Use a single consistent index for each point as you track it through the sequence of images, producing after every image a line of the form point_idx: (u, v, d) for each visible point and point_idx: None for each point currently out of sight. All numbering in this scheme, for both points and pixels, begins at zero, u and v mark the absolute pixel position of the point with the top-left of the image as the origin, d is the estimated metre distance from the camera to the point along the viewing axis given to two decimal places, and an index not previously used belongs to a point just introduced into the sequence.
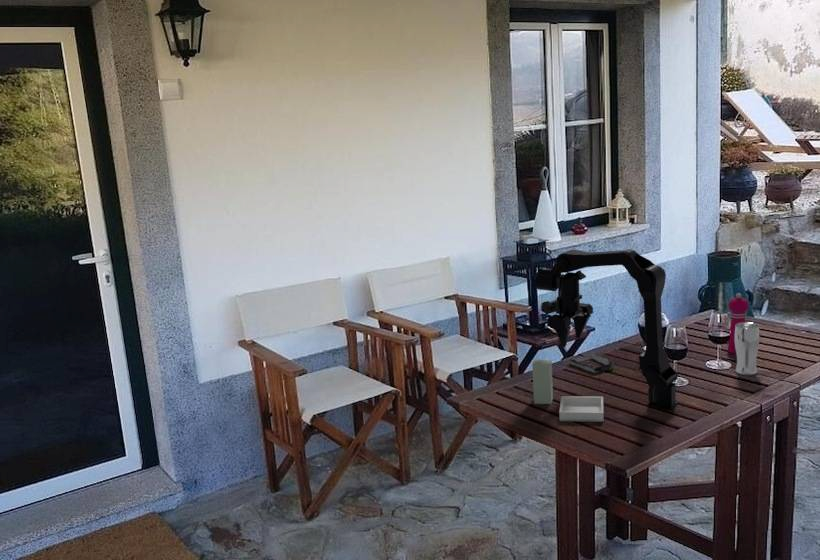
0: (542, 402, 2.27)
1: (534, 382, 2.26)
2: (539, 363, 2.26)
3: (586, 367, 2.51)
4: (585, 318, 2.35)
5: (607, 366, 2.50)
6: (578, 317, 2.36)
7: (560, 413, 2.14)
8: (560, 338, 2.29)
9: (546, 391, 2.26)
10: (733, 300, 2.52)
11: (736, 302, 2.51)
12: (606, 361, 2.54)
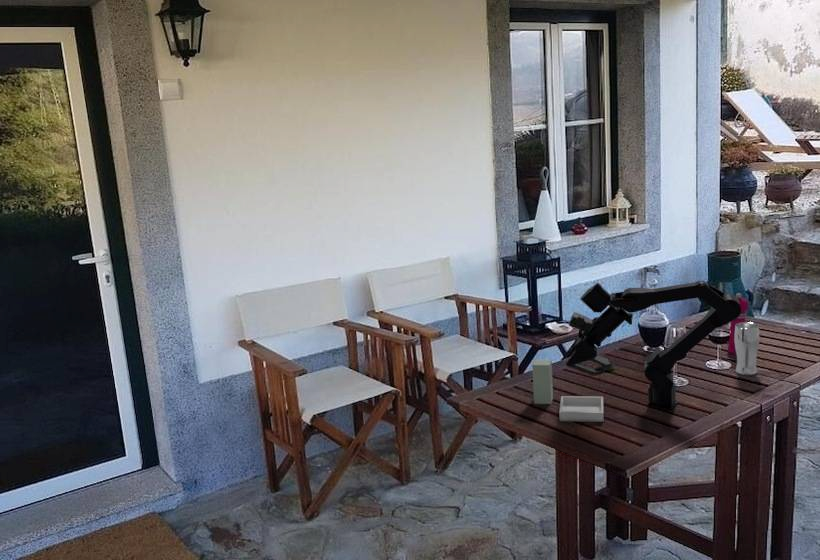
0: (542, 402, 2.27)
1: (534, 382, 2.26)
2: (539, 363, 2.26)
3: (587, 367, 2.51)
4: None
5: (608, 366, 2.50)
6: None
7: (560, 413, 2.14)
8: (572, 358, 2.18)
9: (546, 392, 2.26)
10: None
11: None
12: (606, 361, 2.54)
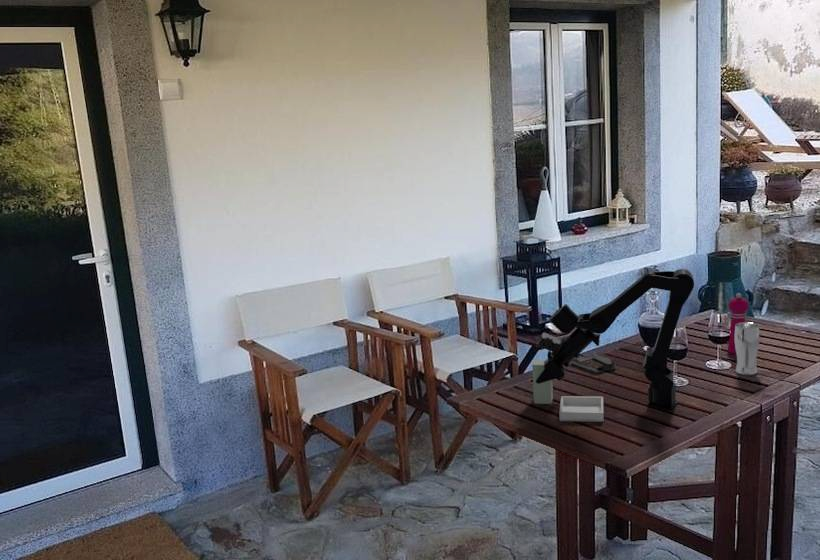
0: (542, 402, 2.27)
1: (534, 382, 2.26)
2: (539, 363, 2.26)
3: (588, 367, 2.51)
4: None
5: (610, 366, 2.50)
6: None
7: (560, 413, 2.14)
8: (541, 376, 2.24)
9: (546, 391, 2.26)
10: (733, 300, 2.52)
11: (736, 302, 2.51)
12: (608, 361, 2.54)
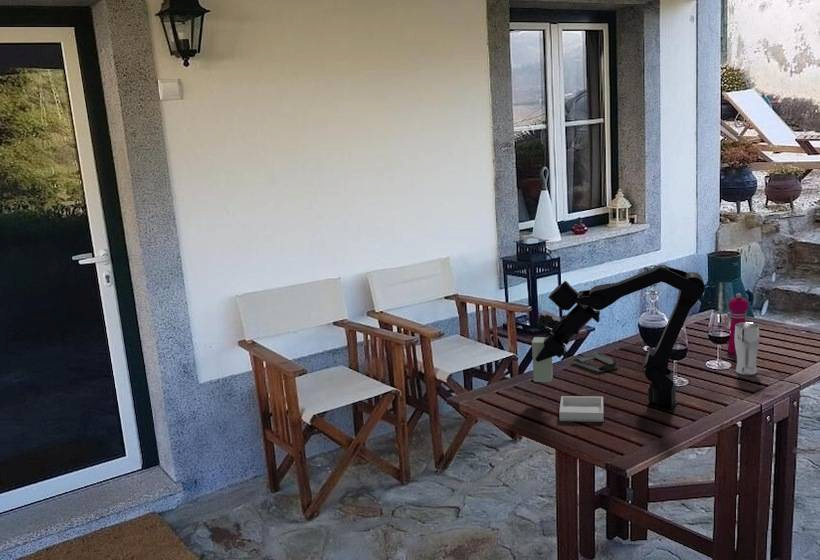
0: (542, 380, 2.25)
1: (534, 360, 2.24)
2: (539, 341, 2.24)
3: (590, 366, 2.51)
4: None
5: (612, 365, 2.50)
6: None
7: (560, 413, 2.14)
8: (541, 354, 2.22)
9: (546, 369, 2.24)
10: (733, 300, 2.52)
11: (736, 302, 2.51)
12: (610, 360, 2.54)
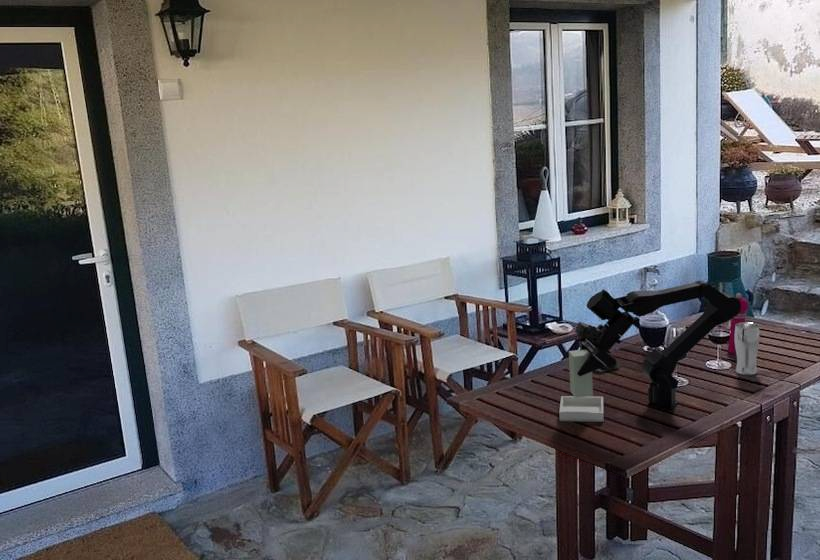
0: (583, 395, 2.14)
1: (575, 375, 2.13)
2: (579, 354, 2.13)
3: None
4: None
5: None
6: (588, 351, 2.18)
7: (560, 413, 2.14)
8: (585, 367, 2.11)
9: (588, 383, 2.14)
10: None
11: None
12: None
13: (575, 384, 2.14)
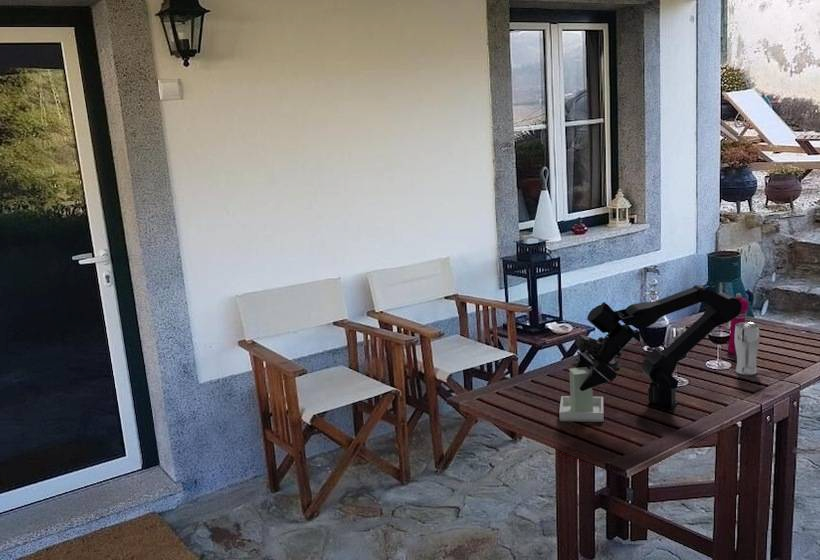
0: None
1: (576, 392, 2.14)
2: (579, 372, 2.14)
3: None
4: (592, 366, 2.21)
5: (614, 365, 2.50)
6: (586, 361, 2.20)
7: (560, 413, 2.14)
8: (587, 382, 2.10)
9: (588, 401, 2.15)
10: None
11: None
12: (612, 360, 2.55)
13: (575, 402, 2.15)
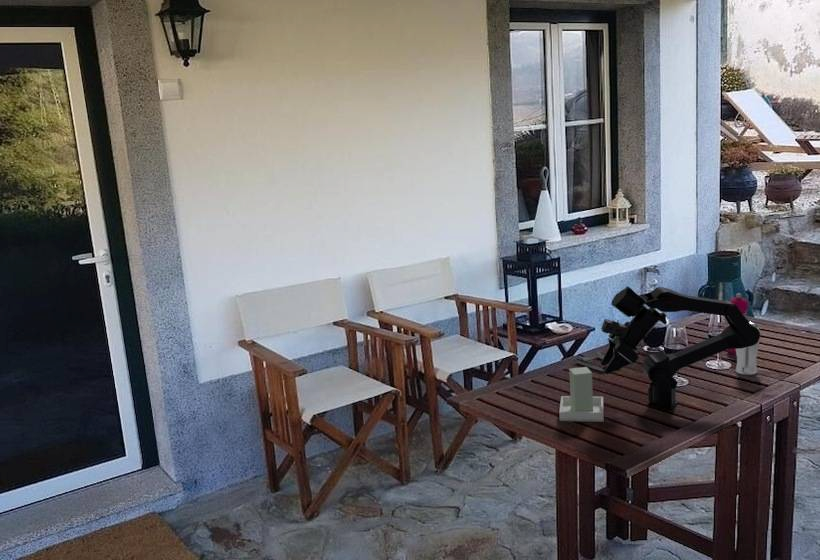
0: None
1: (576, 392, 2.14)
2: (579, 372, 2.14)
3: (594, 366, 2.51)
4: None
5: None
6: None
7: (560, 413, 2.14)
8: (611, 365, 2.11)
9: (588, 401, 2.15)
10: (733, 300, 2.52)
11: (736, 302, 2.51)
12: None
13: (575, 402, 2.15)
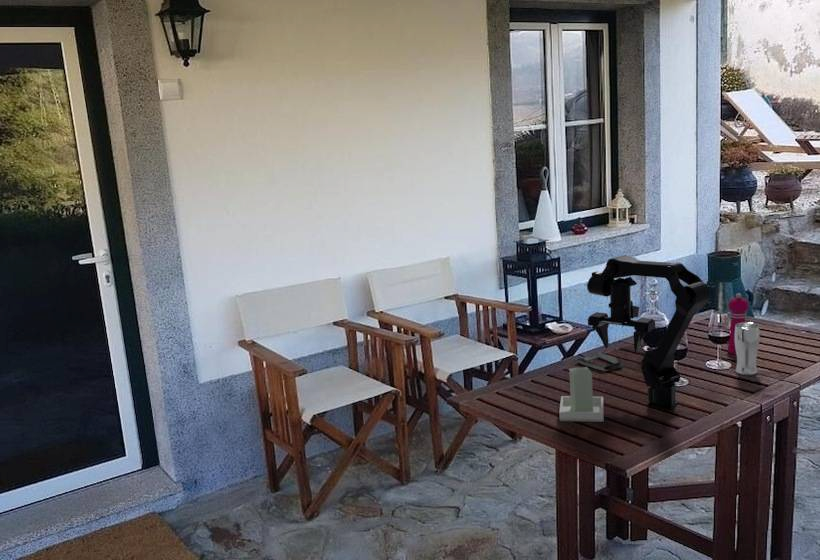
0: None
1: (576, 392, 2.14)
2: (579, 372, 2.14)
3: (595, 366, 2.51)
4: None
5: (616, 364, 2.50)
6: None
7: (560, 413, 2.14)
8: None
9: (588, 401, 2.15)
10: (733, 300, 2.52)
11: (736, 302, 2.51)
12: (614, 360, 2.55)
13: (575, 402, 2.15)
